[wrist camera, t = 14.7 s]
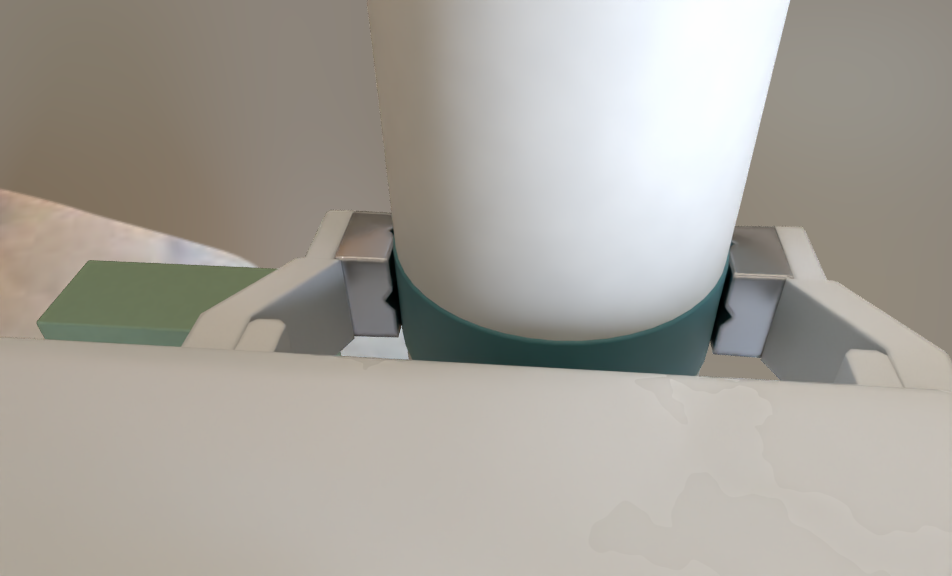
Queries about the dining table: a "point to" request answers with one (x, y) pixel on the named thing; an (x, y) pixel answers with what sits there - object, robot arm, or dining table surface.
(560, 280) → the paper roll
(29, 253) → the dining table surface
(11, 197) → the dining table surface
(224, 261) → the dining table surface
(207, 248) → the dining table surface
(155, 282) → the green block
